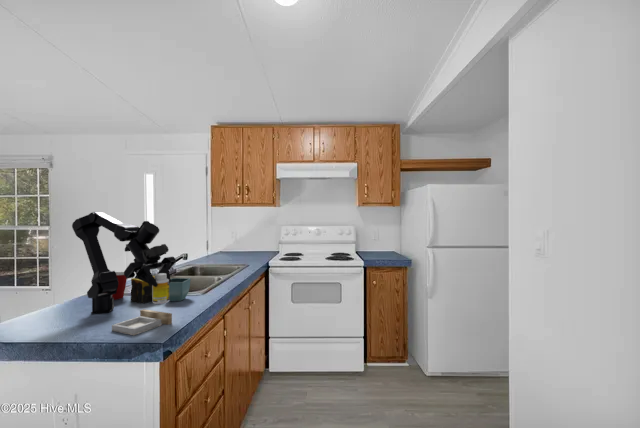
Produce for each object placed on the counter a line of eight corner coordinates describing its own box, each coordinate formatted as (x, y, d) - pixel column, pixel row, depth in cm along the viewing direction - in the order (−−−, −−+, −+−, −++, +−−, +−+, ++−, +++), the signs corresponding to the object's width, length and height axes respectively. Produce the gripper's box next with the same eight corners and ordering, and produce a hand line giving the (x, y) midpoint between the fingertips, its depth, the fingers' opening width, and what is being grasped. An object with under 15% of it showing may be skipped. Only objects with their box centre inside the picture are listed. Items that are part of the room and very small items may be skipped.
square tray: (111, 331, 111) (111, 325, 111) (140, 321, 121) (140, 316, 121) (133, 335, 107) (133, 329, 107) (161, 325, 116) (161, 319, 116)
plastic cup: (135, 296, 158) (135, 270, 158) (114, 302, 148) (114, 274, 148) (118, 294, 161) (117, 269, 161) (96, 300, 151) (96, 273, 151)
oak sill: (140, 319, 123) (140, 310, 123) (143, 318, 124) (143, 309, 124) (168, 324, 117) (168, 314, 117) (171, 323, 118) (171, 313, 118)
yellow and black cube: (130, 300, 150) (129, 278, 150) (152, 296, 159) (152, 275, 159) (141, 304, 144) (141, 281, 144) (164, 299, 153) (164, 277, 153)
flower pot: (183, 302, 146) (183, 282, 146) (163, 302, 147) (163, 282, 147) (191, 297, 155) (191, 278, 155) (172, 297, 155) (172, 278, 155)
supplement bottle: (170, 302, 121) (170, 274, 121) (153, 305, 118) (153, 276, 118) (168, 299, 126) (167, 272, 125) (151, 301, 123) (151, 273, 122)
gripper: (129, 239, 114) (153, 274, 110) (172, 235, 132) (194, 265, 127) (113, 261, 118) (136, 295, 113) (158, 254, 135) (178, 284, 131)
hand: (163, 284), depth 121 cm, fingers closed on supplement bottle, 5 cm apart
